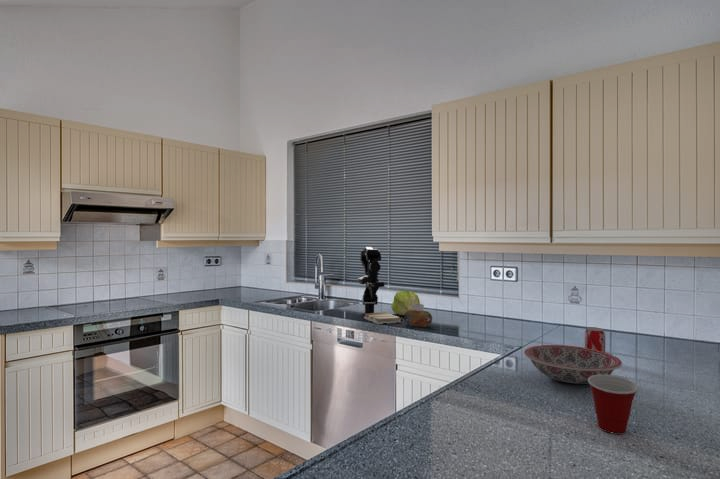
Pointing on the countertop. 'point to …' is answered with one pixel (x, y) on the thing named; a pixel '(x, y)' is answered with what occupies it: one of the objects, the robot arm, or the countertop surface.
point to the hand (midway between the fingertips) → (372, 298)
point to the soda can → (595, 339)
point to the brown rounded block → (418, 318)
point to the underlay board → (379, 322)
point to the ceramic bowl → (571, 362)
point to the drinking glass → (418, 307)
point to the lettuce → (404, 302)
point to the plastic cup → (612, 401)
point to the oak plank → (383, 317)
